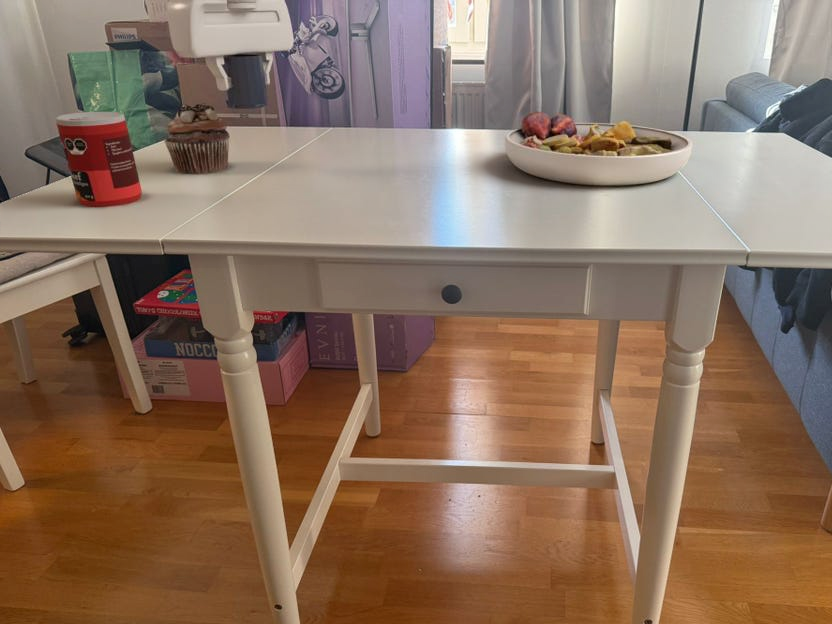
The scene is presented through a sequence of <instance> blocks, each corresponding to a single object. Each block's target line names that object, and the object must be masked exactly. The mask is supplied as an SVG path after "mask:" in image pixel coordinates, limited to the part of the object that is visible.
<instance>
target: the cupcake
mask: <svg viewBox="0 0 832 624" xmlns="http://www.w3.org/2000/svg"><path fill="white" fill-rule="evenodd" d="M227 128H228V125H227V123H226V122H225V120H224V119H222V118H221V117H220V116H218V113H217V112H216V110H215V108H214V106H212V105H207V104H206V103H205V102H203V103H197V104H195V106H191V105H188V104H186V103H182V107H181V108H179V110H178V111H177V113H176V115H175V117H174V118H173V120H171V121H170V122H168V123H167V133H169V134H168V135H167V137H166V138H164V139H163V142H164V144H165V147H166V149H167V152H168V153H169V156H170V159H171V162H172V164H173V165H174V169H175V171H176V172H178V173H180V174H185V175H202V174H203V175H205V174H206V175H207V174H211V173H218V172H222V171H225V170H226V169H228V167H229V150H230V149H229V147H230V138H231V137H230V134H229V132H228V131H227Z"/></svg>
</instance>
